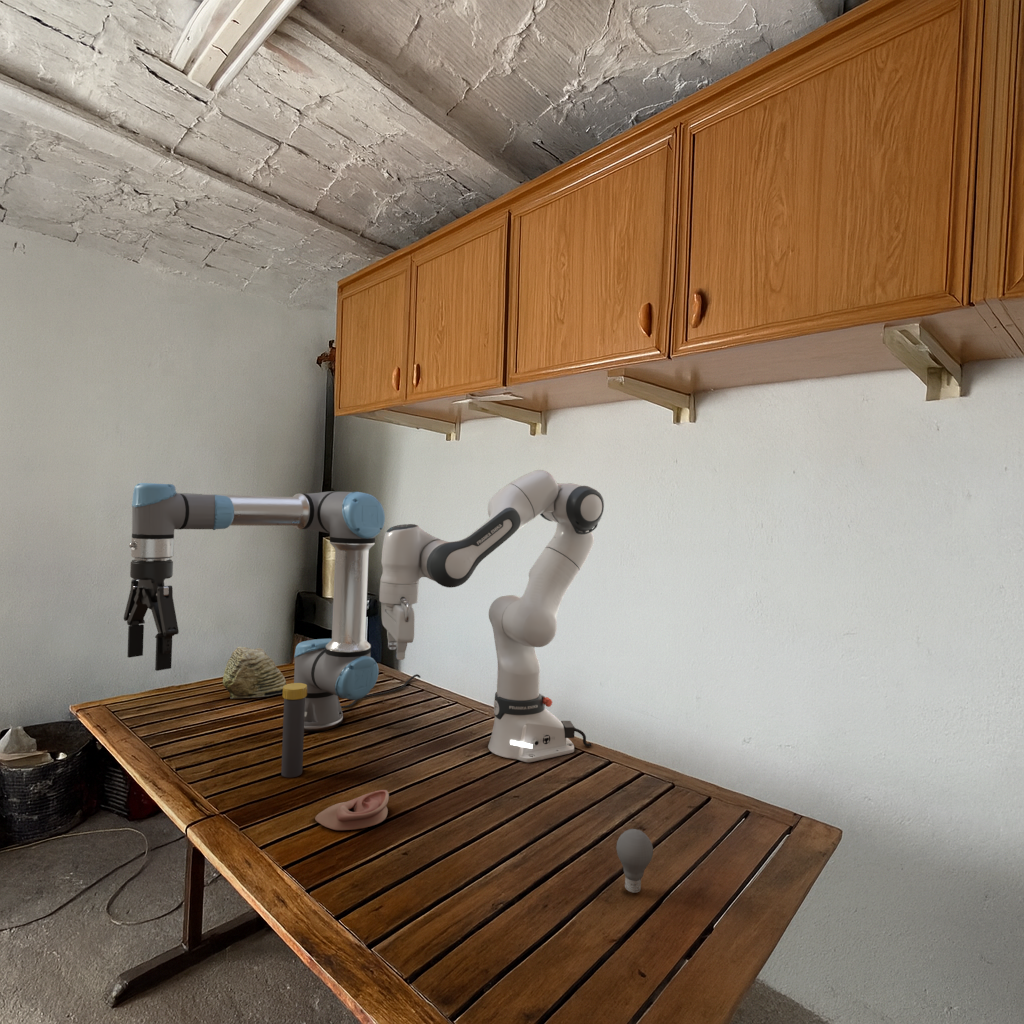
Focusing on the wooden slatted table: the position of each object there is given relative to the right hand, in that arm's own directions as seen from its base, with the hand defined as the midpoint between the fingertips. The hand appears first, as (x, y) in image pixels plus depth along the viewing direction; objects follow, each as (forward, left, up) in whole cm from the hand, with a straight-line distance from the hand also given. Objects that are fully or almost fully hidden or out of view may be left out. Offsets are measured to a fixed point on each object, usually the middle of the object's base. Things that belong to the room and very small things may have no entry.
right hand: (395, 653), depth 146 cm
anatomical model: (+11, +18, -28) cm, 35 cm away
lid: (+22, -6, -8) cm, 24 cm away
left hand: (+50, -2, 0) cm, 50 cm away
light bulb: (-30, +56, -28) cm, 69 cm away
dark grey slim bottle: (+21, -6, -28) cm, 36 cm away
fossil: (+30, -67, -28) cm, 79 cm away
